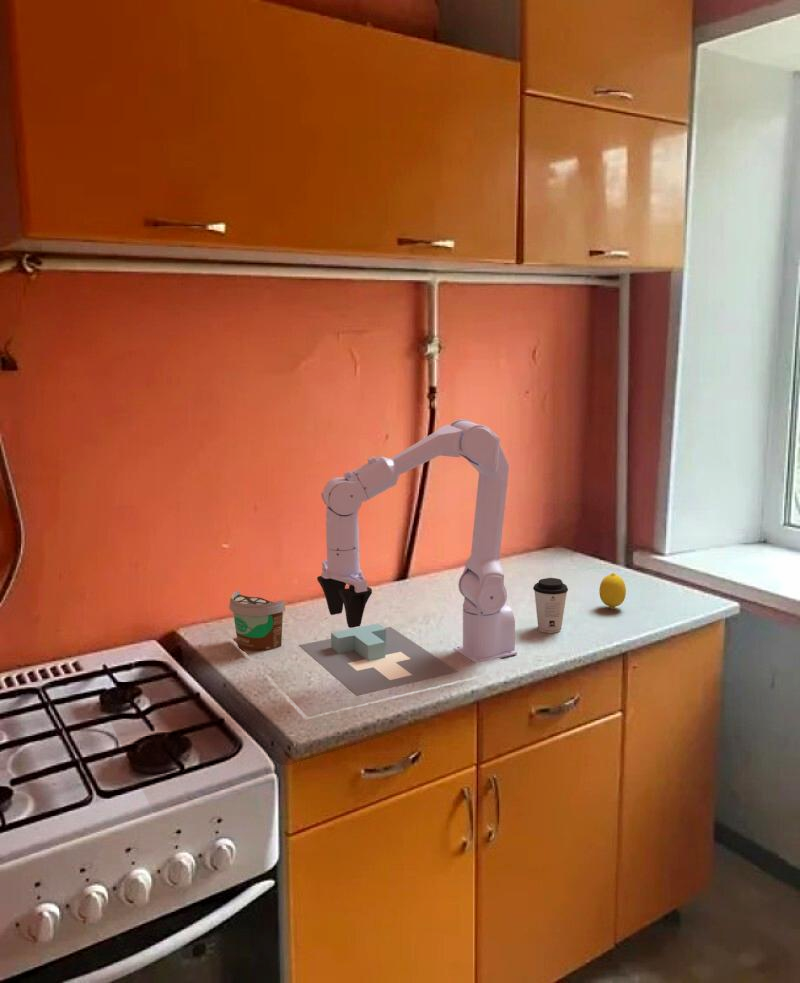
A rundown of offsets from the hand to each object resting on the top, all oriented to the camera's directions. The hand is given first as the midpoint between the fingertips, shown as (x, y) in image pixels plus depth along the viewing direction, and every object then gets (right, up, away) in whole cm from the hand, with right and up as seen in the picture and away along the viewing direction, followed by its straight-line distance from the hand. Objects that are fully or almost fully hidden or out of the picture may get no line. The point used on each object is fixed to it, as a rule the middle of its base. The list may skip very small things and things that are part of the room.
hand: (344, 620), depth 158 cm
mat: (+5, -8, +6) cm, 12 cm away
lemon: (+55, -3, +33) cm, 64 cm away
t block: (+3, -7, +10) cm, 13 cm away
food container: (-19, -8, +13) cm, 24 cm away
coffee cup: (+40, -5, +21) cm, 46 cm away
